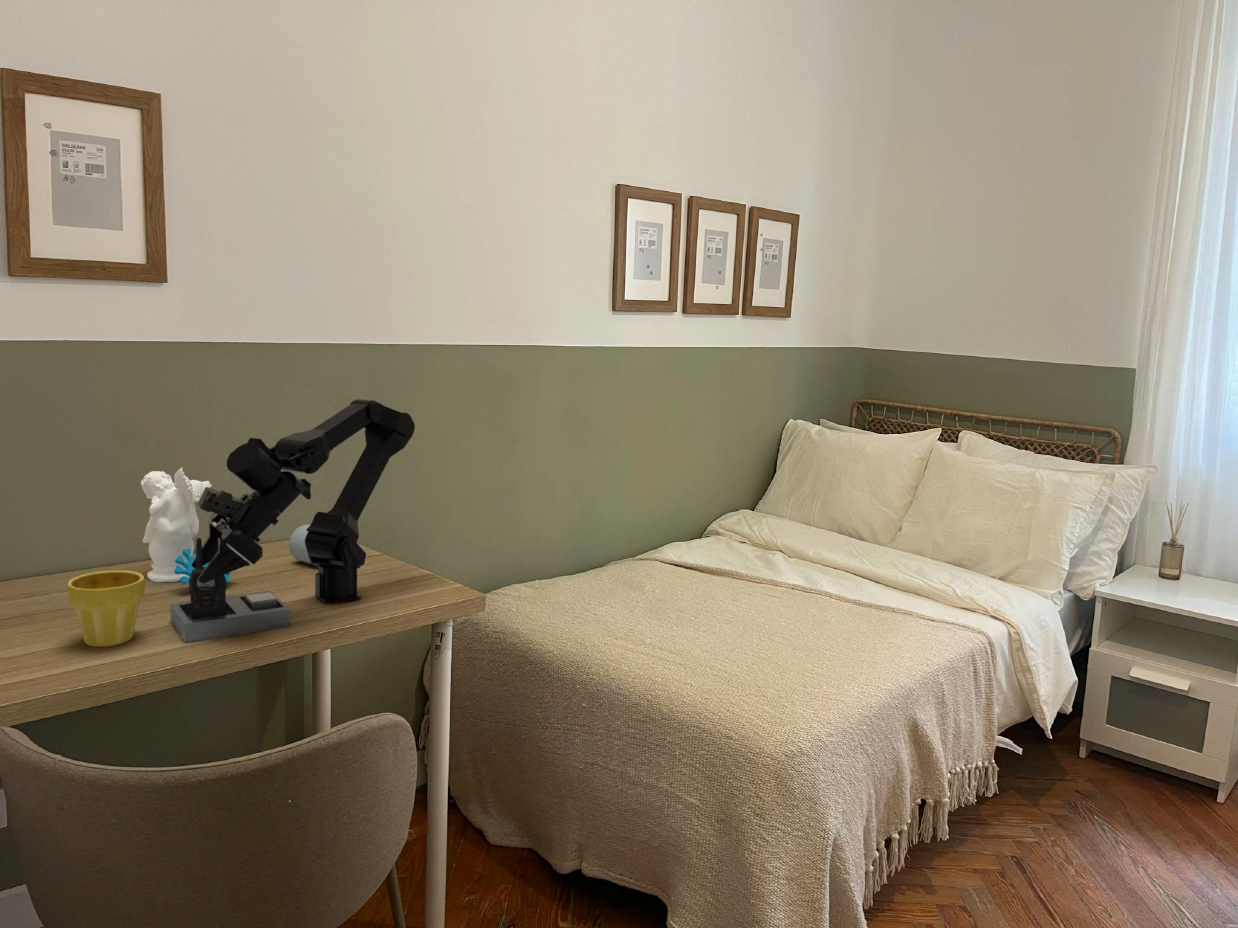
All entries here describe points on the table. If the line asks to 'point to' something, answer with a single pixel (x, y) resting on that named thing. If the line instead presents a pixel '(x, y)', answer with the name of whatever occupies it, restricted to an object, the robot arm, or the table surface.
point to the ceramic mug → (299, 544)
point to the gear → (189, 566)
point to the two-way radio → (206, 591)
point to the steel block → (261, 601)
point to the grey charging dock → (228, 619)
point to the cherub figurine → (170, 521)
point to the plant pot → (106, 605)
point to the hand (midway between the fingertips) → (196, 574)
